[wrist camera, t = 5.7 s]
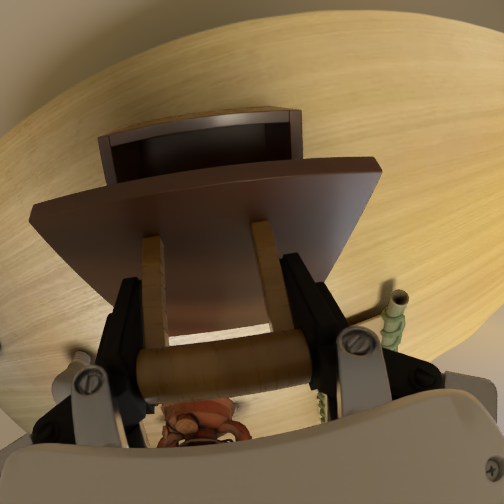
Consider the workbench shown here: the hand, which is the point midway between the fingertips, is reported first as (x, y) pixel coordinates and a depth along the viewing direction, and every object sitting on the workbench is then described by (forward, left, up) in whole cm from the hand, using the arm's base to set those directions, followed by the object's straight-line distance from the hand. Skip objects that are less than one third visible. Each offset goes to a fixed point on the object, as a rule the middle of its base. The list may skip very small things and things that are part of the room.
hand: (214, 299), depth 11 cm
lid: (+2, 0, -4) cm, 5 cm away
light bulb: (+22, -22, -18) cm, 36 cm away
